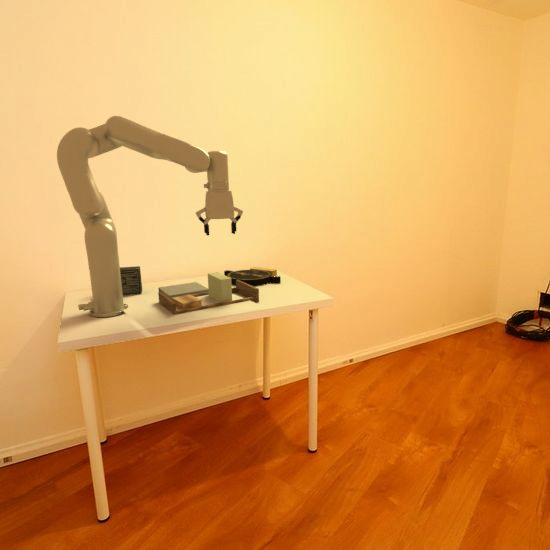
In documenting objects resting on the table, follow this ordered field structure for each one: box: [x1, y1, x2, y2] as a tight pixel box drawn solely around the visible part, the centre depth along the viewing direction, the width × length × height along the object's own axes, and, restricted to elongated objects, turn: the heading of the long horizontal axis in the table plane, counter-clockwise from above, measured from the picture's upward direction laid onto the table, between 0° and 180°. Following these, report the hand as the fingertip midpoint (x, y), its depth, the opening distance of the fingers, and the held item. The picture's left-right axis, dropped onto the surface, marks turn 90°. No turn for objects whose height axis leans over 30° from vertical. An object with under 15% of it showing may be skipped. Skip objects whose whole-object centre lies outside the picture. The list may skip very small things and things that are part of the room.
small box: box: [120, 265, 143, 296], centre depth 155 cm, size 11×6×10 cm, turn 104°
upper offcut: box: [172, 294, 203, 309], centre depth 136 cm, size 7×9×2 cm
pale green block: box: [207, 272, 233, 303], centre depth 143 cm, size 4×12×10 cm, turn 33°
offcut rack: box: [157, 280, 260, 316], centre depth 141 cm, size 32×16×5 cm, turn 123°
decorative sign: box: [223, 266, 282, 287], centre depth 177 cm, size 29×3×25 cm
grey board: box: [157, 281, 209, 298], centre depth 153 cm, size 16×14×2 cm
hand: (220, 234), depth 142 cm, fingers open, 9 cm apart
